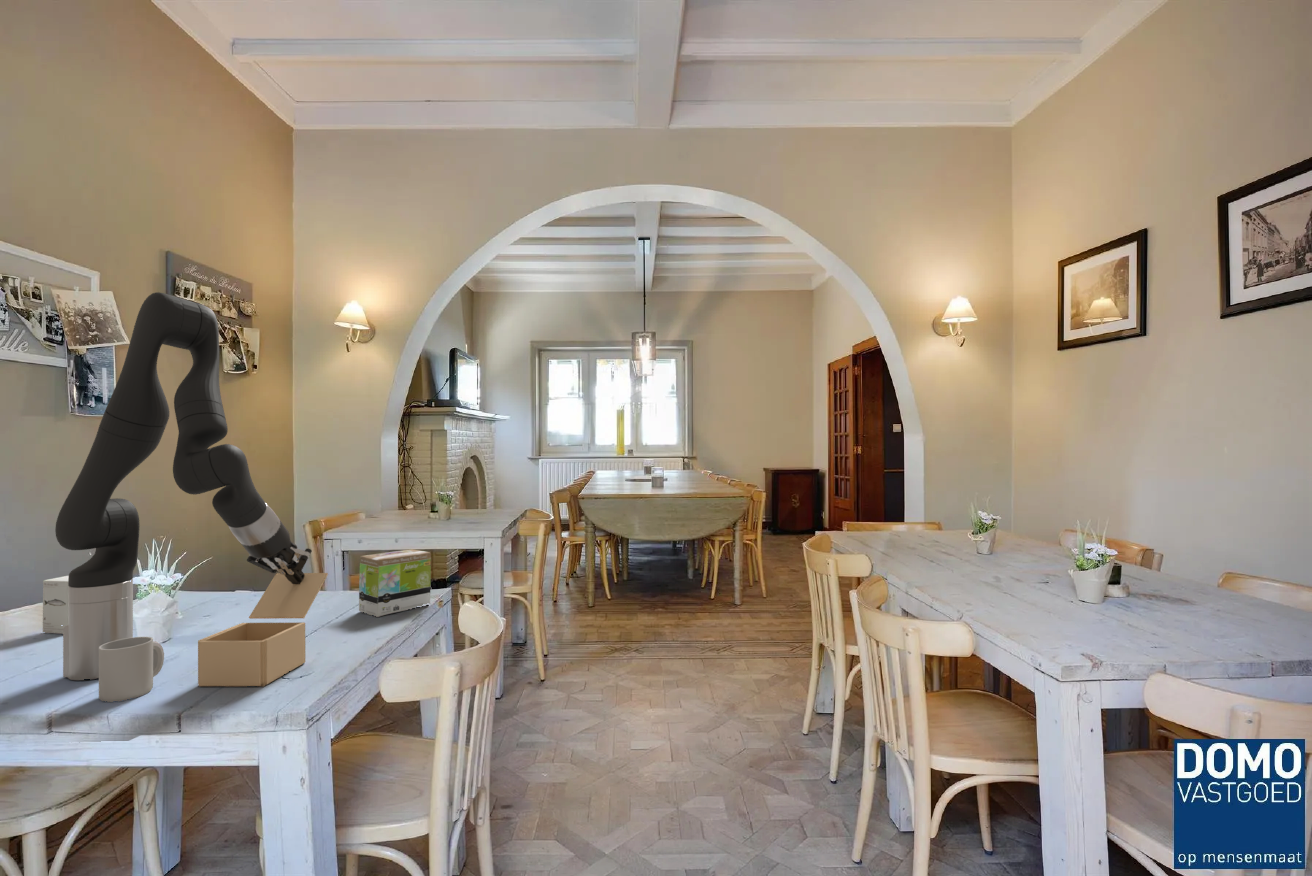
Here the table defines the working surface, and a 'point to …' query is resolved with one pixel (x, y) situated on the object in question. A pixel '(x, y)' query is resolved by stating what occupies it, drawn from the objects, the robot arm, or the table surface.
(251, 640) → the carton
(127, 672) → the cup
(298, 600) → the flap
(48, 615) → the supplement box
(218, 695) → the table surface
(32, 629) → the table surface
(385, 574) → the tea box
